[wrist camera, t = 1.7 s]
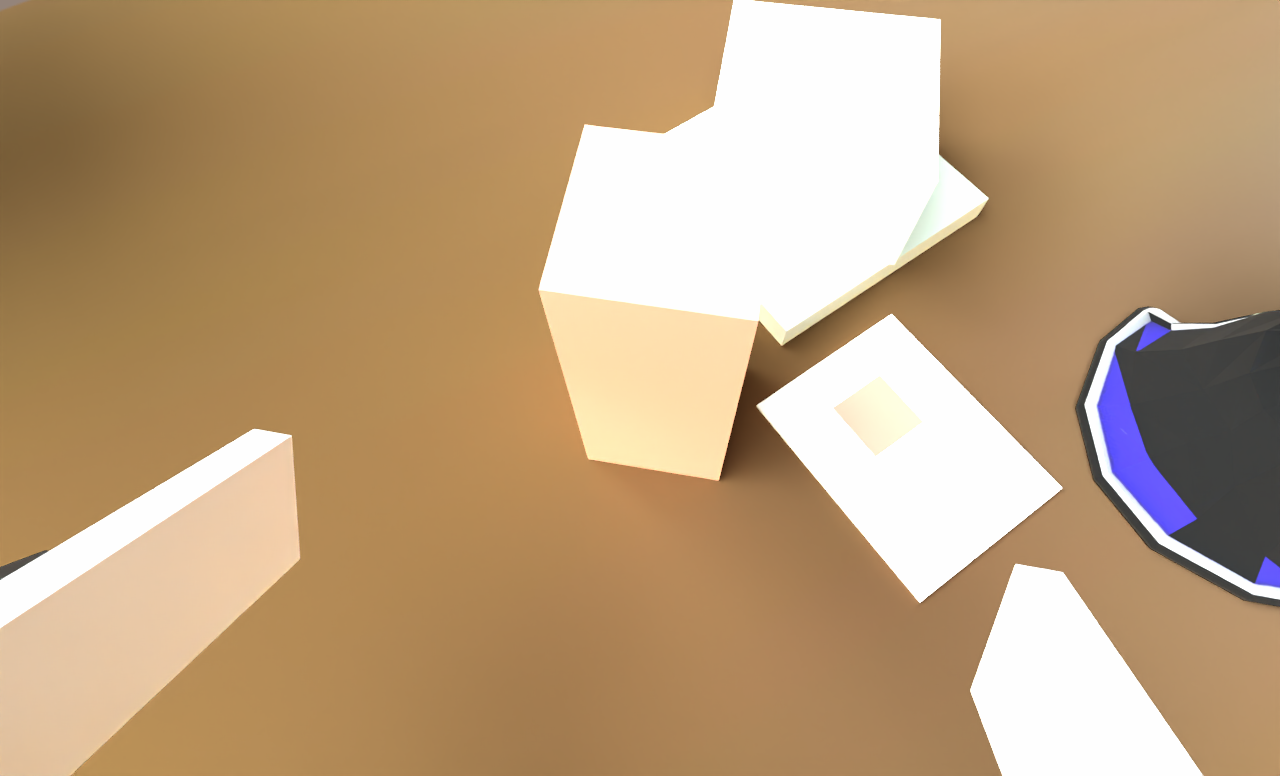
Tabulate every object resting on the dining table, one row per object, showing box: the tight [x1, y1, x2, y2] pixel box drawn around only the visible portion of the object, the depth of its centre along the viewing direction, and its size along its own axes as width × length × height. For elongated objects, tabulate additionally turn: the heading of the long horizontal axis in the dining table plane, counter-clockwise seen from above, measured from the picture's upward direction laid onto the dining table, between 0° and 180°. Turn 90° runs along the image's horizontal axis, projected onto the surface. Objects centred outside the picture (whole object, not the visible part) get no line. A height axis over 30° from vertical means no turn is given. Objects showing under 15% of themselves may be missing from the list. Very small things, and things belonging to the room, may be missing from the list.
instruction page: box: [756, 314, 1062, 603], centre depth 27 cm, size 9×7×1 cm
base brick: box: [708, 0, 940, 265], centre depth 29 cm, size 8×8×5 cm
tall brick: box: [539, 125, 781, 481], centre depth 22 cm, size 5×5×12 cm
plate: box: [665, 107, 989, 346], centre depth 31 cm, size 11×11×1 cm
